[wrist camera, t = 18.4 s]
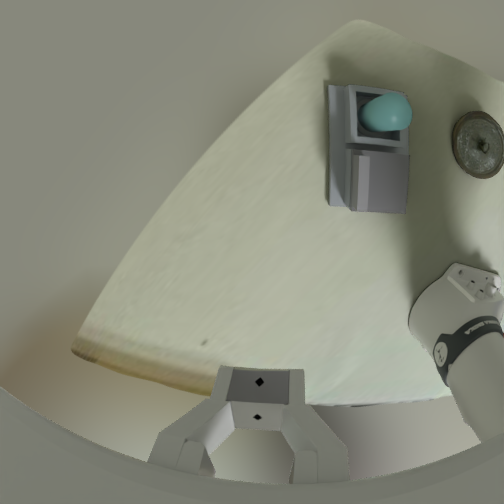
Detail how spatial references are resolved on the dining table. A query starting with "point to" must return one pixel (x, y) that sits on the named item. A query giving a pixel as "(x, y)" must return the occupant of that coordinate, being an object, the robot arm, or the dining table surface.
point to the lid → (478, 144)
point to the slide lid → (379, 182)
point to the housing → (355, 136)
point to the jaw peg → (385, 113)
